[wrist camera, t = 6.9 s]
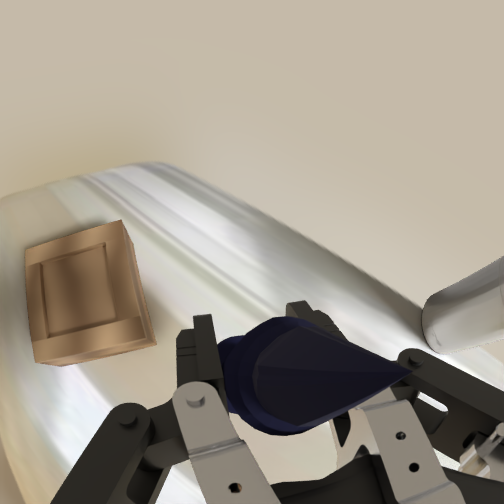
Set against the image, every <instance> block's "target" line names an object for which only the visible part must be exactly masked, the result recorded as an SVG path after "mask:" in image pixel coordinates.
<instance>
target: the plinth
mask: <svg viewBox="0 0 504 504" xmlns="http://www.w3.org/2000/svg"><path fill="white" fill-rule="evenodd" d="M25 276H26V295H27V308H28V318H29V326H30V334H31V341H32V347H33V353H34V358H35V363H41V364H47V365H54V366H61V367H62V366H67V365H72V364H77V363H82V362H86V361H91V360H96V359H100V358H104V357H109V356H113V355H117V354H122V353H126V352H130V351H134V350H138V349H142V348H146V347H150V346H154V345H157V343H156V340H155V336H154V333H153V329H152V325H151V322H150V318H149V314H148V310H147V306H146V302H145V298H144V294H143V289H142V285H141V280H140V276H139V271H138V266H137V261H136V256H135V251H134V246H133V243H132V241H131V239H130V237H129V235H128V233H127V230H126V228H125V226H124V224H123V222H122V220H118V221H114V222H111V223H108V224H104V225H101V226H97V227H94V228H91V229H87V230H84V231H81V232H78V233H74V234H71V235H68V236H65V237H62V238H59V239H56V240H53V241H50V242H47V243H44V244H41V245H38V246H35V247H32V248H29V249H27V250H25Z"/></svg>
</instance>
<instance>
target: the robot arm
mask: <svg viewBox="0 0 504 504" xmlns="http://www.w3.org/2000/svg"><path fill="white" fill-rule="evenodd" d="M286 316H290V317H295V318H300V319H304V320H307V321H309V322H311V323H313V324H315V325H317V326H319V327H321V328H323V329H325V330H327V331H329V332H331V333H333V334H335V335H337V336H339V337H341V338H343V339H345V340H347V339H346V337H345V336H344V335H343V334H342V332H341V331H339V328H338V327H337V326H336V325H334V322H333V321H332V320H331V318H330V317H329V316H328V315H327V314H325V313H323V312H321V311H320V310H315V311H313V310H312V309H311V307H310V306H309V304H308V303H307V302H306V301H305V300H304V301H298V302H292V303H287V305H286ZM193 322H194V329H185V330H181V332H180V333H179V335H178V337H177V338H176V349H177V350H176V356H177V358H176V361H177V390H176V391H175V392H174V394H173V397H172V398H171V399H170V400H169V401H168V402H166V403H165V404H163V405H160V406H157V407H154V408H151V409H148V410H147V409H146V408H145V407H144V406H142V405H140V404H137V403H124V404H120V405H118V406H116V407H115V408H113V409H112V410H111V411H110V413H109V414H108V415H107V417H106V418H105V420H104V421H103V423H102V424H101V426H100V427H99V429H98V430H97V432H96V433H95V435H94V436H93V438H92V439H91V441H90V442H89V444H88V445H87V447H86V448H85V450H84V451H83V453H82V455H81V456H80V458H79V459H78V461H77V462H76V464H75V465H74V467H73V468H72V470H71V471H70V473H69V475H68V476H67V478H66V479H65V481H64V482H63V484H62V486H61V487H60V489H59V490H58V492H57V493H56V495H55V497H54V498H53V500H52V501H51V503H50V504H155V503H156V500H157V498H158V496H159V494H160V491H161V489H162V487H163V485H164V482H165V480H166V478H167V476H168V474H169V471H170V469H171V467H172V465H175V464H178V463H181V462H183V461H186V460H189V459H190V461H191V464H192V467H193V470H194V472H195V475H196V478H197V480H198V483H199V486H200V488H201V491H202V493H203V496H204V498H205V500H206V503H207V504H504V391H502V390H500V389H498V388H496V387H494V386H492V385H490V384H488V383H486V382H484V381H482V380H480V379H478V378H476V377H474V376H472V375H470V374H468V373H466V372H464V371H462V370H460V369H458V368H456V367H454V366H452V365H450V364H448V363H446V362H444V361H442V360H440V359H438V358H436V357H434V356H432V355H430V354H428V353H426V352H424V351H422V350H420V349H415V348H409V349H405V350H403V351H402V352H400V354H399V356H398V359H397V361H392V362H394V363H396V364H398V365H401V366H403V367H405V368H407V369H409V370H412V371H413V372H411V373H410V374H408V375H407V376H405V377H404V378H402V379H401V380H399V381H398V382H396V383H395V384H393V385H392V386H390V387H388V388H387V389H385V390H384V391H382V392H380V393H379V394H377V395H375V396H373V397H372V398H370V399H368V400H367V401H365V402H363V403H361V404H359V405H358V406H356V407H354V408H352V409H350V410H348V411H346V412H344V413H343V414H341V415H339V416H337V417H335V418H333V419H331V420H329V424H330V428H331V431H332V435H333V439H334V443H335V446H336V450H337V470H336V471H335V472H333V473H332V474H330V475H328V476H327V477H325V478H323V479H320V480H311V481H296V482H281V483H276V484H272V485H269V483H268V481H267V479H266V478H265V476H264V474H263V472H262V471H261V469H260V467H259V465H258V464H257V462H256V460H255V458H254V456H253V455H252V453H251V451H250V449H249V447H248V446H247V444H246V442H245V441H244V440H241V439H240V438H239V436H238V434H237V432H236V430H235V428H234V426H233V424H232V422H231V420H230V418H229V411H228V405H227V398H226V392H225V389H224V388H225V384H224V377H223V372H222V368H221V363H220V358H219V353H218V348H217V342H216V337H215V332H214V326H213V321H212V316H211V314H205V315H197V316H193ZM422 328H423V332H424V336H425V338H426V341H427V343H428V344H429V346H430V347H431V348H432V349H433V350H434V351H435V352H437V353H439V354H443V355H444V354H450V353H454V352H458V351H463V350H467V349H471V348H475V347H478V346H482V345H485V344H489V343H492V342H495V341H499V340H502V339H504V256H502V257H501V258H499V259H498V260H496V261H494V262H493V263H491V264H489V265H488V266H486V267H484V268H482V269H480V270H479V271H477V272H475V273H473V274H472V275H470V276H468V277H466V278H464V279H462V280H460V281H459V282H457V283H455V284H453V285H451V286H449V287H447V288H445V289H443V290H441V291H439V292H437V293H435V294H433V295H431V296H430V297H429V298H428V299H427V302H426V303H425V305H424V308H423V313H422ZM347 341H348V340H347ZM420 392H422V393H424V394H426V395H427V396H429V397H431V398H433V399H435V400H436V401H438V402H440V403H442V404H444V405H445V406H446V407H447V409H448V411H446V412H443V411H440V410H438V409H437V408H435V407H433V406H431V405H430V404H428V403H426V402H424V401H422V400H421V399H419V398H418V396H419V394H420ZM432 447H433V448H434V449H436V450H438V451H439V452H441V453H443V454H445V455H446V456H448V457H450V458H452V459H454V460H455V461H457V462H459V463H460V467H459V469H458V471H456V470H453V469H449V468H446V467H443V466H441V465H440V462H439V460H438V458H437V456H436V454H435V452H434V450H433V448H432Z"/></svg>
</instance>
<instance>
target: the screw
mask: <svg viewBox="0 0 504 504" xmlns="http://www.w3.org/2000/svg"><path fill="white" fill-rule="evenodd" d="M217 348H218V353H219V358H220V363H221V368H222V372H223V377H224V384H225V388H224V389H225V392H226V398H227V405H228V411H229V412H230V413H234V414H238V415H239V416H240V417H241V419H242V420H244V421H245V422H246V423H248V424H249V425H250V426H252V427H253V428H254V429H257V430H259V431H262V432H264V433H267V434H269V435H278V436H288V435H295V434H300V433H303V432H306V431H308V430H310V429H312V428H314V427H316V426H318V425H320V424H322V423H324V422H327V421H329V420H331V419H333V418H335V417H337V416H339V415H341V414H343V413H344V412H346V411H348V410H350V409H352V408H354V407H356V406H358V405H359V404H361V403H363V402H365V401H367V400H368V399H370V398H372V397H373V396H375V395H377V394H379V393H380V392H382V391H384V390H385V389H387V388H388V387H390V386H392V385H393V384H395V383H396V382H398V381H399V380H401V379H402V378H404V377H405V376H407V375H408V374H410V373H411V372H413V371H412V370H409V369H407V368H405V367H403V366H401V365H398V364H396V363H394V362H392V361H390V360H387V359H385V358H383V357H381V356H379V355H377V354H375V353H372V352H370V351H368V350H366V349H364V348H362V347H360V346H358V345H355V344H353V343H351V342H349V341H347V340H345V339H343V338H341V337H339V336H337V335H335V334H333V333H331V332H329V331H327V330H325V329H323V328H321V327H319V326H317V325H315V324H313V323H311V322H309V321H307V320H304V319H300V318H295V317H290V316H285V317H273V318H271V319H269V320H267V321H265V322H263V323H261V324H259V325H258V326H257V327H255V328H254V329H252V330H251V331H249V332H248V333H246V335H245V336H244V335H241V336H234V337H229V338H227V339H225V340H223V341H221V342H220V343H219V344H217Z"/></svg>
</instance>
